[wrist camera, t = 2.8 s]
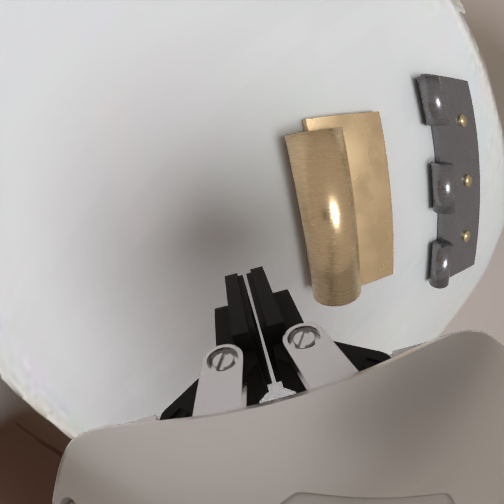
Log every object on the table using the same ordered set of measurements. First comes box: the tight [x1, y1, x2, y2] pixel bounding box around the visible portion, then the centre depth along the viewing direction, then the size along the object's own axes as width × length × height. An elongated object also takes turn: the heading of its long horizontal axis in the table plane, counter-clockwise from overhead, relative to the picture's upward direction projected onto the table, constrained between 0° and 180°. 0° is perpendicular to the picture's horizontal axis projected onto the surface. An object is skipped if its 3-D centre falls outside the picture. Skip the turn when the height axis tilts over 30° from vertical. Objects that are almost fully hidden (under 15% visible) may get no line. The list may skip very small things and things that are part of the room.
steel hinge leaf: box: [416, 74, 480, 288], centre depth 22 cm, size 24×10×3 cm, turn 13°
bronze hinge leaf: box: [284, 112, 393, 306], centre depth 21 cm, size 16×9×4 cm, turn 13°
